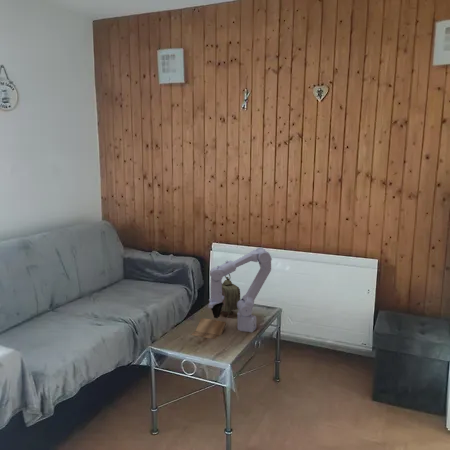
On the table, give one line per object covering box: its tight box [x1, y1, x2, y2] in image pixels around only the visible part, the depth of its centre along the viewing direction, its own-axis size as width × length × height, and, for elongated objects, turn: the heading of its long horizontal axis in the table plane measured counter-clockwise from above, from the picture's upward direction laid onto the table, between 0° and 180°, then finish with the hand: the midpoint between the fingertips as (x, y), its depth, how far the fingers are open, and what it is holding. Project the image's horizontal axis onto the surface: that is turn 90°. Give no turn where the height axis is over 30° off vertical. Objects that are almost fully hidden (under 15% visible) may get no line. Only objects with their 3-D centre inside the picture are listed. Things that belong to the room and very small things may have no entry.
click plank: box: [195, 317, 227, 336], centre depth 223 cm, size 14×8×1 cm
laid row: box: [190, 330, 221, 340], centre depth 217 cm, size 14×5×1 cm, turn 66°
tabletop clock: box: [221, 273, 241, 319], centre depth 246 cm, size 14×9×25 cm, turn 25°
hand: (216, 317), depth 221 cm, fingers closed
